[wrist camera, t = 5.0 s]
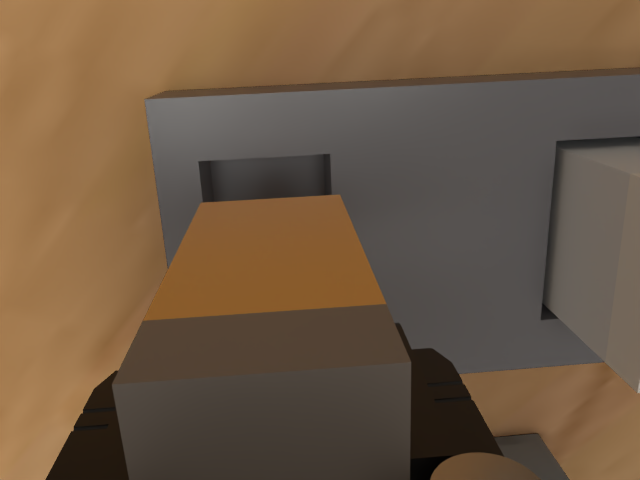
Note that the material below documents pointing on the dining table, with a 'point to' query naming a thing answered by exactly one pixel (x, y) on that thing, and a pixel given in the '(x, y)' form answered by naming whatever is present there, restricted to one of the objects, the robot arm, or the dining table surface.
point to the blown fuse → (267, 354)
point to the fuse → (597, 248)
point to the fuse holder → (410, 188)
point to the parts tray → (531, 455)
